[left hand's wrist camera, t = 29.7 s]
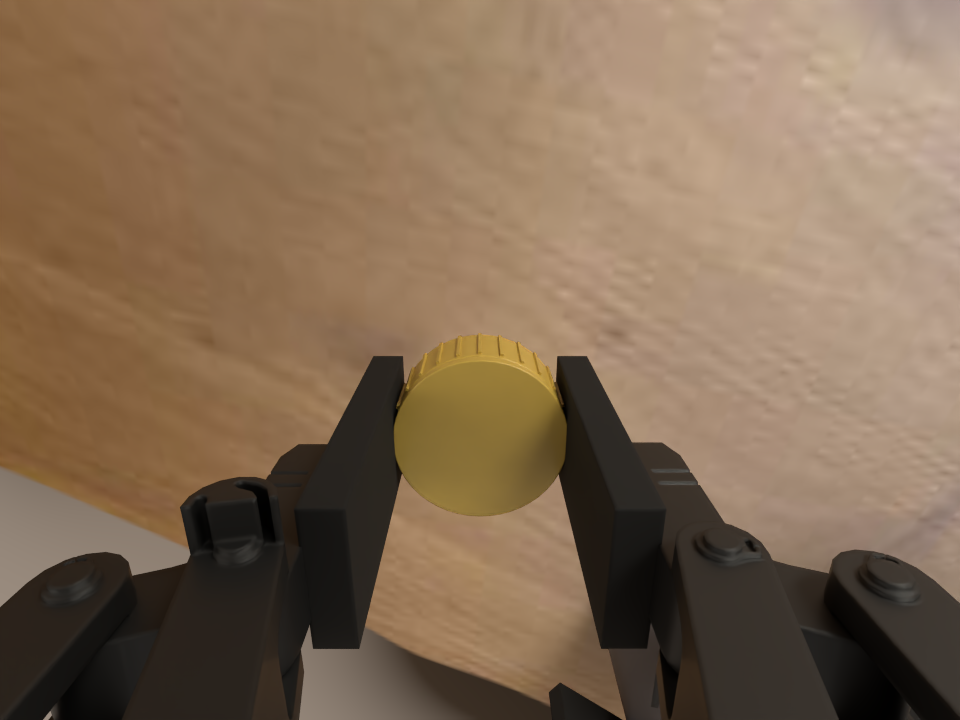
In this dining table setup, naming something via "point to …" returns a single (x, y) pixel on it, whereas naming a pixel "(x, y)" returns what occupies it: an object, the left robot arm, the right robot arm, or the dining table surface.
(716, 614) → the left robot arm
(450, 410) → the cap
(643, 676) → the bottle
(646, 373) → the dining table surface
